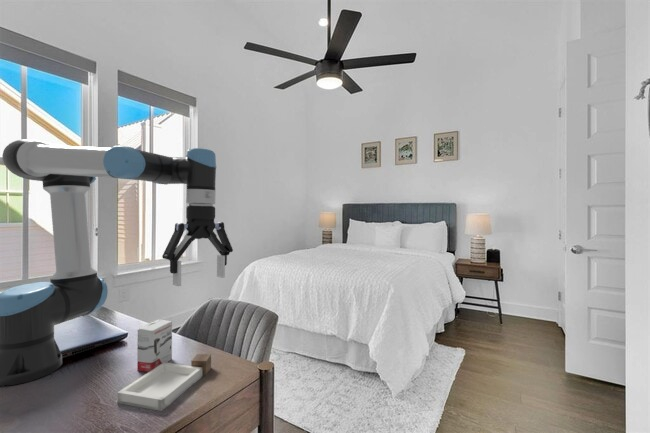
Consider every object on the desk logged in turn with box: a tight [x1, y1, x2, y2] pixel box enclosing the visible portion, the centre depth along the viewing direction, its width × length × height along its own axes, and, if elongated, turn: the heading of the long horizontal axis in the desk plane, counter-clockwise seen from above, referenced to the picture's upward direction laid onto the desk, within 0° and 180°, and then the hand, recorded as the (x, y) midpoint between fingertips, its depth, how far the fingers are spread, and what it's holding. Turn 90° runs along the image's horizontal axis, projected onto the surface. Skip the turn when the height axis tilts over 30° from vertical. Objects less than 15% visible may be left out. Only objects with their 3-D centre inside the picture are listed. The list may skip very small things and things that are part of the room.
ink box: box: [136, 319, 173, 373], centre depth 91 cm, size 9×5×12 cm, turn 168°
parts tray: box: [116, 362, 203, 412], centre depth 79 cm, size 12×15×2 cm
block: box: [190, 353, 212, 376], centre depth 88 cm, size 4×4×4 cm
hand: (200, 281), depth 89 cm, fingers open, 13 cm apart
